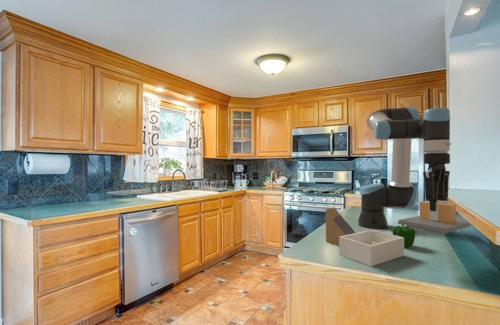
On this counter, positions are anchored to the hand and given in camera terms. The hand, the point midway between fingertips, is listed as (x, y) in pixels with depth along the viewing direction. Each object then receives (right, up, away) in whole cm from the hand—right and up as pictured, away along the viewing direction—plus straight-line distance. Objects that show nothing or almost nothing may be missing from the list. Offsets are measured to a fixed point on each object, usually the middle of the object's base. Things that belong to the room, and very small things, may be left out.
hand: (437, 219), depth 95 cm
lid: (0, -3, 0) cm, 3 cm away
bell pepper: (+1, -16, +21) cm, 27 cm away
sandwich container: (-23, -16, +25) cm, 38 cm away
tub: (-18, -16, +10) cm, 26 cm away
